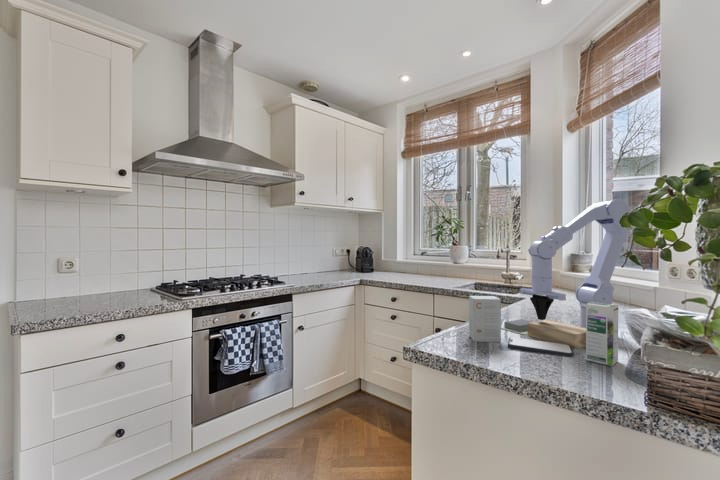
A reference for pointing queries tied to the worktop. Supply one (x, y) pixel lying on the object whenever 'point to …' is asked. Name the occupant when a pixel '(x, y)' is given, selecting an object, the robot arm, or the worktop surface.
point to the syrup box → (602, 333)
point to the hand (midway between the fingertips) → (541, 319)
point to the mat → (516, 331)
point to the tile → (517, 325)
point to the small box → (485, 318)
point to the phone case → (540, 347)
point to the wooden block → (558, 333)
